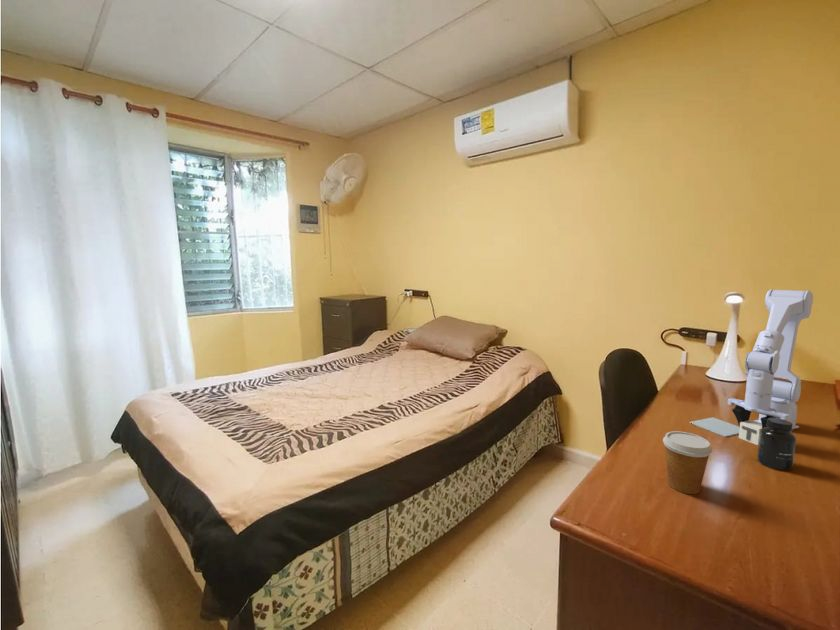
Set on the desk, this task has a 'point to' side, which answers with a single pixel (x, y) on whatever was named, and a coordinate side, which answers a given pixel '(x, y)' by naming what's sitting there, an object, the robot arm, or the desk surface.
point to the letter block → (750, 431)
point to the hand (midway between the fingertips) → (754, 435)
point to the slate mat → (717, 426)
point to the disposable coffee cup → (686, 460)
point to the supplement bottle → (777, 444)
